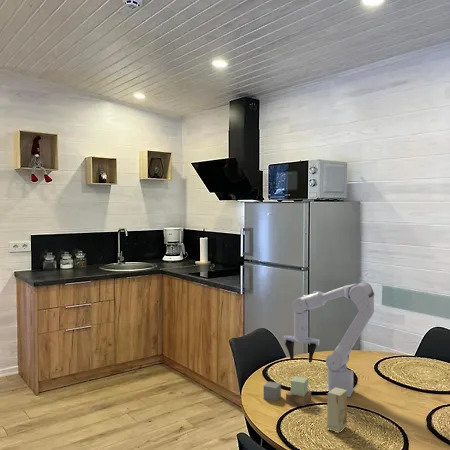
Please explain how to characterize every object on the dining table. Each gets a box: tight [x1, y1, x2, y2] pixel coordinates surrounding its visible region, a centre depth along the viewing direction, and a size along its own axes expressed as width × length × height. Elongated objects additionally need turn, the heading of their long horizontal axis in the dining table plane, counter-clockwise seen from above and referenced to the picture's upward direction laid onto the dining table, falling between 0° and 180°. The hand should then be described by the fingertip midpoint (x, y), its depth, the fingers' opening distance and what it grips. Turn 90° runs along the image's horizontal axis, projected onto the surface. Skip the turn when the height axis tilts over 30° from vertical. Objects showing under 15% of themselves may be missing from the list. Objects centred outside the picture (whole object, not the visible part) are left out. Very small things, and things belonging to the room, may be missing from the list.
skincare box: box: [326, 387, 348, 432], centre depth 147 cm, size 6×4×12 cm
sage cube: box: [290, 375, 309, 396], centre depth 168 cm, size 5×5×5 cm
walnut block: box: [285, 389, 312, 407], centre depth 168 cm, size 7×7×4 cm
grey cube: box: [263, 381, 282, 402], centre depth 171 cm, size 5×5×5 cm
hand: (301, 360), depth 185 cm, fingers open, 7 cm apart
